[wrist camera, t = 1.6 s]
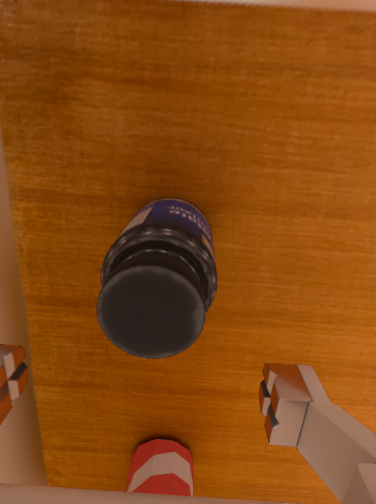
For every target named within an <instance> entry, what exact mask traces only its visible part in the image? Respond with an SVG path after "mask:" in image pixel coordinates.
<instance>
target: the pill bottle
mask: <svg viewBox="0 0 376 504" xmlns="http://www.w3.org/2000/svg"><path fill="white" fill-rule="evenodd" d="M101 284H102V289H101V291H100V293H99V297H98V302H97V317H98V321H99V324H100V326H101V329H102V330H103V332H104V333H105V335H106V336H107V338H108V339H109V340H110V341H111V342H112V343H113V344H114V345H116V346H117V347H118V348H120V349H121V350H123V351H125V352H127V353H129V354H132V355H134V356H138V357H144V358H147V359H158V358H166V357H170V356H174V355H176V354H178V353H180V352H182V351H184V350H186V349H187V348H188V347H190V346H191V345H192V344H193V343H194V342H195V341H196V340H197V338H198V337H199V335H200V334H201V331H202V329H203V326H204V322H205V312H207V310H208V308H209V307H210V306H211V303H212V302H213V300H214V297H215V292H216V290H217V271H216V263H215V256H214V249H213V242H212V232H211V229H210V225H209V223H208V220H207V219H206V217H205V215H204V214H203V213H202V211H201V210H200V209H198V208H197V207H196V206H195V205H194V204H192V203H190V202H189V201H186V200H184V199H178V198H177V199H174V198H169V197H163V198H159V199H155V200H153V201H151V202H149V203H147V204H146V205H145V206H143V207H142V208H141V209H140V210H139V211H138V212H137V214H136V215H135V217H134V218H133V219H132V220H131V222H130V223H129V224H128V225H127V227H126V228H125V229H124V231H123V232H122V233H121V235H120V236H119V237H118V239H117V240H116V241H115V242H114V244H113V245H112V246H111V247H110V249H109V250H108V252H107V254H106V257H105V258H104V262H103V265H102V269H101Z"/></svg>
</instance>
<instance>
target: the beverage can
mask: <svg viewBox="0 0 376 504" xmlns="http://www.w3.org/2000/svg"><path fill="white" fill-rule="evenodd" d="M125 492H135V493H150V494H165V495H180V496H193V462H192V458H191V454H190V451H189V450H187V449H186V448H184V447H183V446H182V445H180V444H179V443H177V442H176V441H173V440H165V439H155V440H152V441H150V442H147V443H144V444H142V445H139V446H138V448H137V450H136V451H135V453H134V455H133V456H132V459H131V464H130V470H129V475H128V480H127V485H126V490H125Z"/></svg>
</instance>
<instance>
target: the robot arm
mask: <svg viewBox="0 0 376 504" xmlns="http://www.w3.org/2000/svg"><path fill="white" fill-rule="evenodd" d="M25 356H26V354H25V349H24V347H22V346H16V345H5V344H0V424H1V423H2V422H3V420H4V419H5V417H6V415H7V414H8V413H9V411H10V410H11V408H12V405H11V401H13V400H15V399H16V398H18V397H19V396H20V395H21V394H22V392H23V390H24V389H25V386H26V383H27V380H28V367H27V366H26V365H25V364H24V362H23V361H22V360H23V359H24V358H25ZM262 373H263V376H264V380H263V381H262V382H261V383H260V388H259V403H260V409H261V413H262V414H263V415H264V416H265V417H266V419H265V424H264V426H265V430H266V434H267V438H268V442H269V445H280V446H290V447H297V450H298V451H299V452H300V453H301V455H302V456H303V457H304V458H305V459H306V461H307V462H308V463H309V464H310V465H311V467H312V468H313V469H314V470H315V472H316V473H317V474H318V475H319V476H320V478H321V479H322V480H323V481H324V482H325V484H326V485H327V486H328V487H329V489H330V490H331V491H332V492H333V493H334V495H335V496H336V497H337V498H338V499H339V501H340V502H341V503H342V504H376V434H374V433H373V432H372V431H371V430H369V429H368V428H367V427H365V426H364V425H363V424H361V423H360V422H359V421H358V420H356V419H355V418H354V417H352V416H351V415H350V414H348V413H347V412H346V411H345V410H343V409H342V408H341V407H339V406H338V405H337V404H332V403H331V401H330V400H329V398H328V396H327V394H326V392H325V390H324V388H323V386H322V384H321V382H320V380H319V379H318V377H317V375H316V373H315V371H314V369H313V367H312V366H311V365H301V364H295V365H293V364H277V363H265V364H264V367H263V372H262ZM0 504H299V503H285V502H270V501H255V500H240V499H225V498H210V497H195V496H180V495H165V494H150V493H135V492H121V491H106V490H91V489H76V488H62V487H47V486H32V485H16V484H2V483H0Z"/></svg>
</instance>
